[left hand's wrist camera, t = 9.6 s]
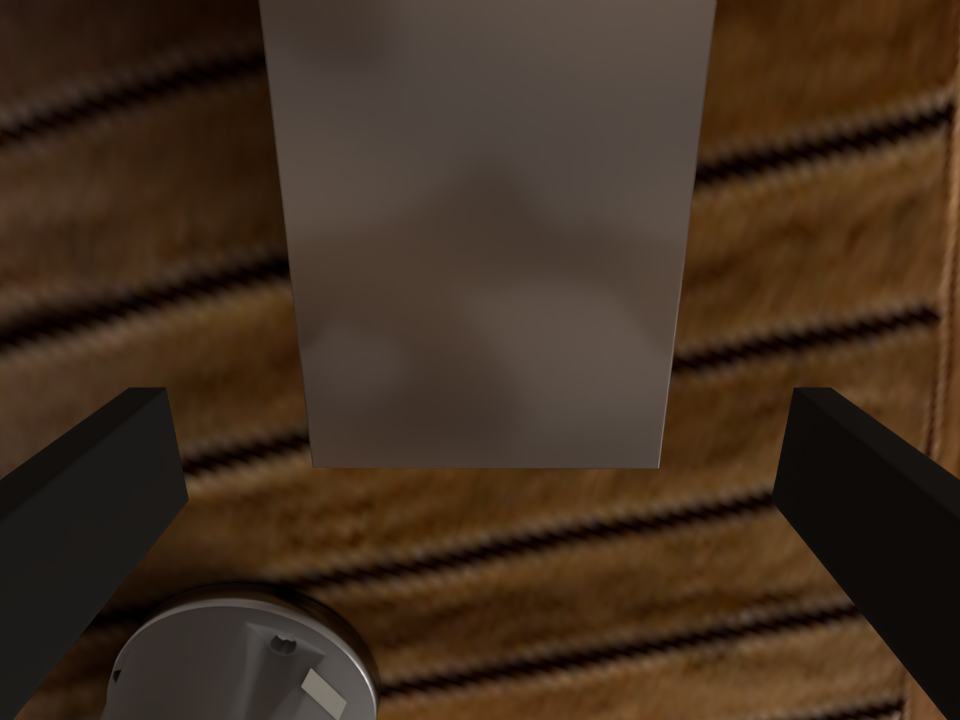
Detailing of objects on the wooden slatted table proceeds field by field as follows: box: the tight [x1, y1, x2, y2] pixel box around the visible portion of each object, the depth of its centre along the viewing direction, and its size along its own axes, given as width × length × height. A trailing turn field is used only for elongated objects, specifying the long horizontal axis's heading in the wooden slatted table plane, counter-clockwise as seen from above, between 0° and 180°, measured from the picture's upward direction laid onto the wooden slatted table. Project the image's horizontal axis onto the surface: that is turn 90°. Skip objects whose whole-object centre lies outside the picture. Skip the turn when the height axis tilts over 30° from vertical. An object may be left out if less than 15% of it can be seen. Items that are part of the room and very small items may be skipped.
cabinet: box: [259, 0, 717, 469], centre depth 20 cm, size 21×11×11 cm, turn 0°
